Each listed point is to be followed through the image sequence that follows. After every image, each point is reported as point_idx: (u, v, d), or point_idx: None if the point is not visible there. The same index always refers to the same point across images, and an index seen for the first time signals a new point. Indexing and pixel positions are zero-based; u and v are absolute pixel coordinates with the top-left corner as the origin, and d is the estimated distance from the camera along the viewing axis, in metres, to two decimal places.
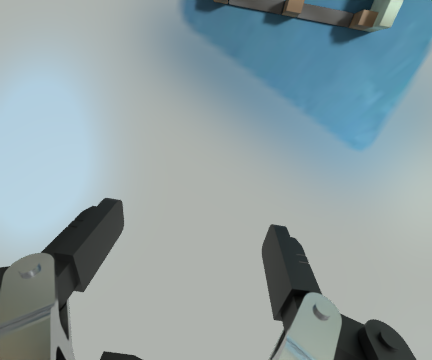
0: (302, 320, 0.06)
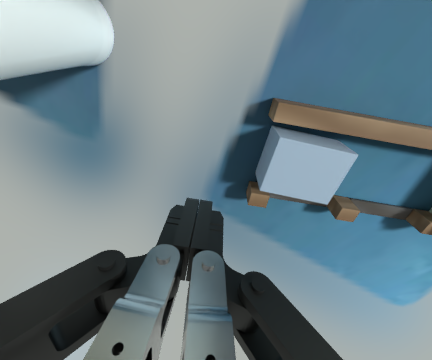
0: (196, 282, 0.07)
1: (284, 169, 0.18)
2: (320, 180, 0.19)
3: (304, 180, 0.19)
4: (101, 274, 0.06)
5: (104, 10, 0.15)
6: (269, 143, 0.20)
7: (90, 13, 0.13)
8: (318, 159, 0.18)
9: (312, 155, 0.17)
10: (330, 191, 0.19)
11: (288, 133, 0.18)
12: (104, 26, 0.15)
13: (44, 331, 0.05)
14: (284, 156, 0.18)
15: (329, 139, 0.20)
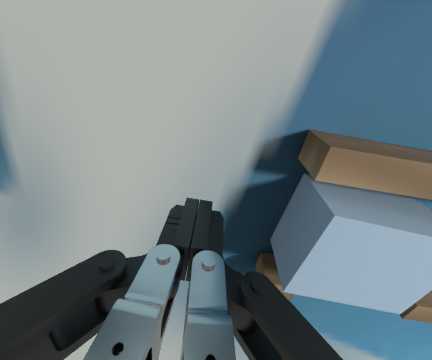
0: (196, 283, 0.07)
1: (334, 265, 0.10)
2: (399, 282, 0.10)
3: (368, 281, 0.10)
4: (101, 274, 0.06)
5: None
6: (299, 206, 0.11)
7: None
8: (402, 253, 0.09)
9: (393, 246, 0.09)
10: (411, 297, 0.11)
11: (340, 195, 0.10)
12: None
13: (44, 331, 0.05)
14: (338, 246, 0.09)
15: (404, 199, 0.11)
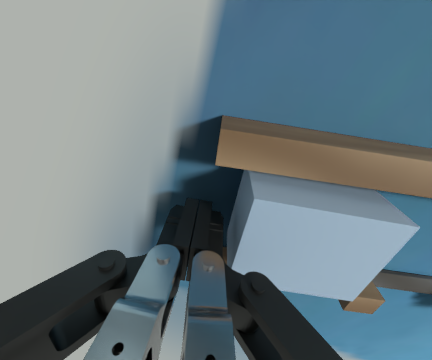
0: (196, 282, 0.07)
1: (269, 251, 0.09)
2: (341, 267, 0.10)
3: (308, 267, 0.10)
4: (101, 274, 0.06)
5: None
6: (241, 193, 0.11)
7: None
8: (334, 236, 0.09)
9: (324, 228, 0.09)
10: (358, 283, 0.10)
11: (274, 180, 0.10)
12: None
13: (44, 331, 0.05)
14: (267, 231, 0.09)
15: None
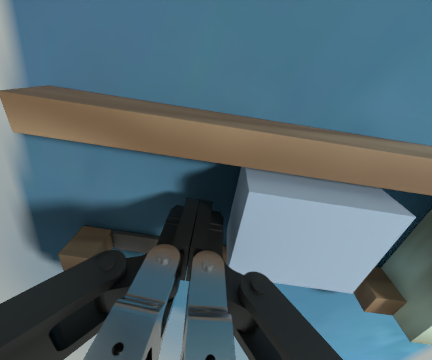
0: (196, 282, 0.07)
1: (266, 244, 0.09)
2: (338, 259, 0.10)
3: (306, 259, 0.10)
4: (101, 274, 0.06)
5: None
6: (238, 188, 0.11)
7: None
8: (330, 227, 0.09)
9: (319, 220, 0.09)
10: (357, 275, 0.10)
11: (270, 174, 0.10)
12: None
13: (44, 331, 0.05)
14: (263, 224, 0.09)
15: None
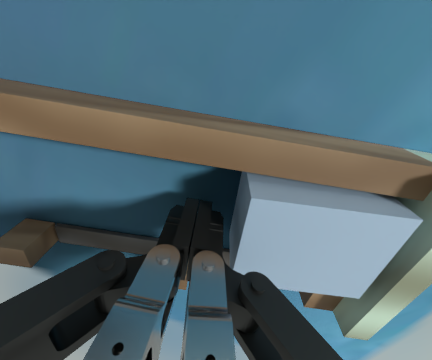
0: (196, 282, 0.07)
1: (270, 250, 0.09)
2: (344, 264, 0.10)
3: (311, 265, 0.10)
4: (101, 274, 0.06)
5: None
6: (240, 193, 0.11)
7: None
8: (335, 232, 0.09)
9: (323, 225, 0.08)
10: (364, 280, 0.10)
11: (272, 178, 0.10)
12: None
13: (44, 331, 0.05)
14: (266, 230, 0.09)
15: None
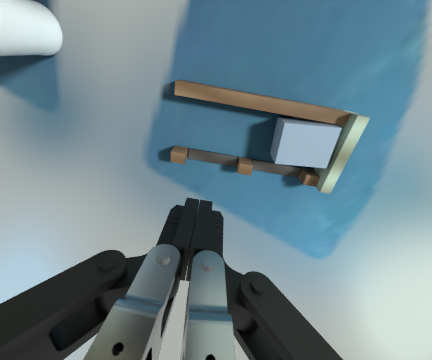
0: (196, 282, 0.07)
1: (291, 145, 0.26)
2: (318, 150, 0.26)
3: (306, 151, 0.26)
4: (101, 274, 0.06)
5: (53, 17, 0.23)
6: (277, 129, 0.28)
7: (39, 19, 0.21)
8: (313, 135, 0.25)
9: (309, 132, 0.25)
10: (326, 157, 0.27)
11: (290, 120, 0.26)
12: (52, 28, 0.23)
13: (44, 331, 0.05)
14: (289, 136, 0.25)
15: None
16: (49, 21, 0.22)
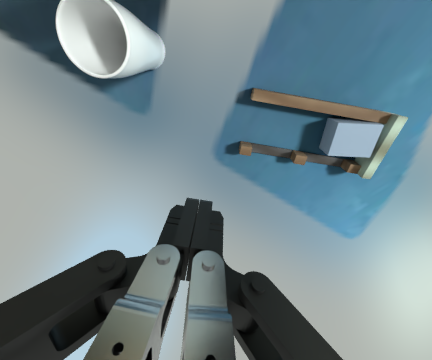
0: (196, 283, 0.07)
1: (342, 140, 0.33)
2: (364, 143, 0.33)
3: (354, 144, 0.33)
4: (101, 274, 0.06)
5: (162, 41, 0.30)
6: (328, 128, 0.34)
7: (159, 44, 0.28)
8: (361, 131, 0.32)
9: (357, 129, 0.32)
10: (370, 149, 0.33)
11: (340, 120, 0.33)
12: (163, 49, 0.29)
13: (44, 331, 0.05)
14: (341, 133, 0.32)
15: None
16: (161, 44, 0.29)
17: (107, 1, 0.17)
